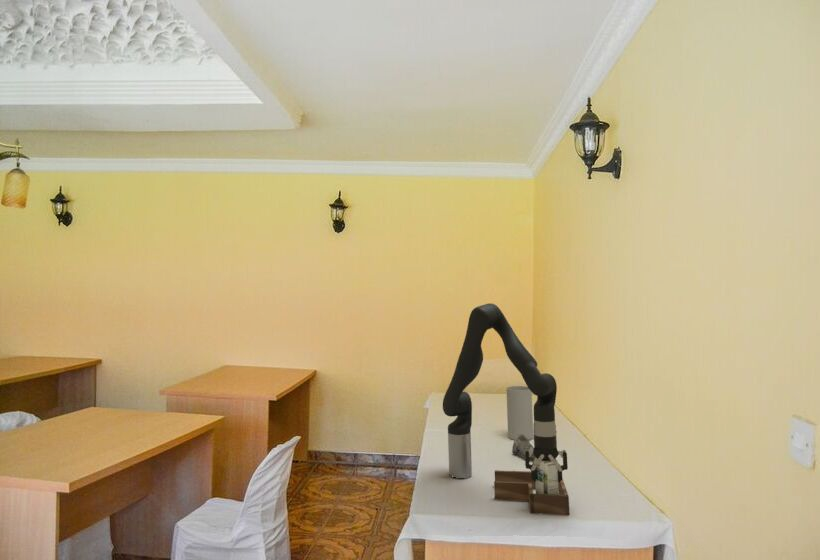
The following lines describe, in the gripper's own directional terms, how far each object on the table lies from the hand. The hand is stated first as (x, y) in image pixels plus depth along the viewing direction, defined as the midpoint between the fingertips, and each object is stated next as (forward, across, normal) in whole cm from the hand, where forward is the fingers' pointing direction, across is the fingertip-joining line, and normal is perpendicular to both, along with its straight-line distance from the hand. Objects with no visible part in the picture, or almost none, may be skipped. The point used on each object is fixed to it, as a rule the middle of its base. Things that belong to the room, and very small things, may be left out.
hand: (546, 481), depth 170 cm
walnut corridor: (+8, +6, -5) cm, 11 cm away
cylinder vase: (+9, +6, -83) cm, 84 cm away
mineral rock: (+9, +6, -52) cm, 53 cm away
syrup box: (+7, 0, 0) cm, 7 cm away
